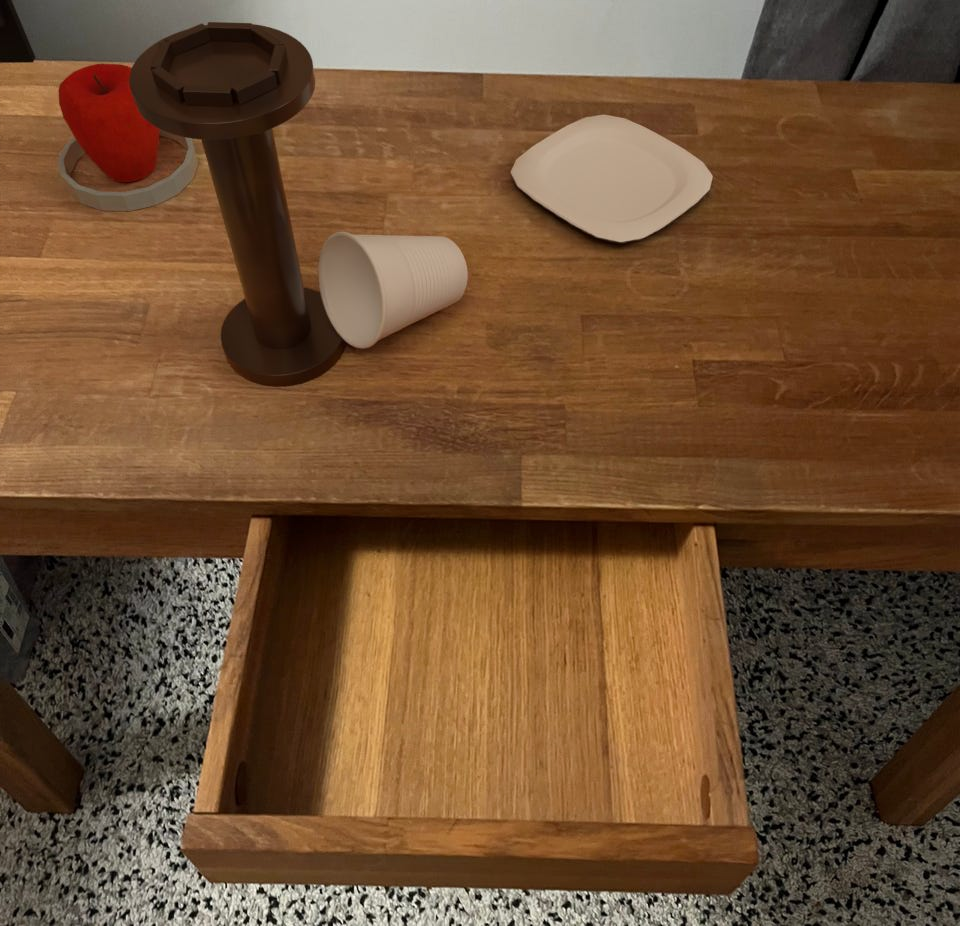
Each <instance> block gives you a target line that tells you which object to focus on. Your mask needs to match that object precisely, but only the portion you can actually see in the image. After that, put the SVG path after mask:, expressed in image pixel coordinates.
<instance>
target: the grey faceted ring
mask: <svg viewBox="0 0 960 926" xmlns="http://www.w3.org/2000/svg"><path fill="white" fill-rule="evenodd" d="M159 137H163V138H167V139H169V140H172V141H176V142H177V143H178V144H180V145H181V146H182V147H183V148H185V150H187V151H186V154H185V157H184V160H183V162H182V163H181V164H180V165H179V166H178V167H177V168H176V169H175V170H174V171H173V172H172V173H171V174H170V175H169V176H167V177H165V178H163V179H160V180H159V181H157V182H155V183H153V184H150V185H148V186H144V187H140V188H135V189H130V190H126V191H110V190H109V191H107V190H103V191H102V190H96V189H93V188H90V187H88V186H84V185H81V184H78V182H76V181H75V180H74V179H73V178H72V177H71V175H72V173H73V171H74V168H75V167H76V164H77V162H78V161H79V160H80V159H81V158H82V157H83V156H85V155H86V153H85V152H84V150H83V149H82V147H81V146H80V144H79V143H78V142H77V140H76V139H75V137H74V136H73V137H72V138H71V139H69V140H68V141H67V142H65V143H64V145H63V148H62V149H61V152H60V154H59V155H58V158H57V164H58V170H59V175H60V177H61V180H62V182H63V184H64V186H65V189H66V191H67V192H68V193H69V194H70V195H71V196H72V197H73V198H74V199H75V200H76V201H78V202H79V203H80V204H81V205H83V206H87V207H90V208H93V209H97V210H99V211H102V212H133V211H137V210H141V209H147V208H150V207H151V208H152V207H154V206H158V205H160V204H161V203H163V202H165V201H168V200H169V199H171V198H174V197H175V196H177V195H179V194H180V193H181V192H183V190H184V189H185V188H186V187H187V186H189V184H190V183H191V182H192V181H193V180H194V179H195V175H196V173H197V169H198V167H199V160H198V156H197V153H196V149H195V146H194V143H193V140H192V138H186V137H181V136H177V135H174V134H171V133H168V132H165V131H163V130H161V129H159Z"/></svg>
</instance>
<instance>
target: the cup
mask: <svg viewBox="0 0 960 926" xmlns="http://www.w3.org/2000/svg"><path fill="white" fill-rule="evenodd" d="M321 247H322V248H321V250H320V253H319V257H318V264H317V265H318V266H317V278H318V288H319V292H320V294H321V298H322V302H323V305H324V308H325V311H326V313H327V316H328V318H329V320H330V322H331V324H332V325H333V327H334V328H335V330H336V331H337V333H338V334H339V335H340V336H341V337H342V339H343V340H345V341H346V344H348V345H350V346H351V347H354V348H356V349H361V350H363V349H364V350H365V349H368V348H369V349H370V348H371V347H372V346H374V345H375V344H376V343H377V342H378V341H380V340H382V339H384V338H386V337H388V336H390V335H393V334H395V333H396V332H399V331H401V330H402V329H404V328H406V327H408V326H410V325H413V324H414V323H417V322H418V321H421V320H423V319H426V318H427V317H429V316H431V315H433V314H435V313H437V312H439V311H442V310H445V309H446V308H448V307H450V306H453V305H454V304H456V303H458V302H459V301H460V300H461V299H462V297H463V296H464V295H465V292H466V289H467V285H468V280H469V277H468V276H469V271H468V265H467V261H466V259H465V256H464V253H463V252H462V250H461V248H460V247H459V246H458V245H457V243H455V242H454V241H453V240H452V239H451V238H448V237H446V236H442V235H395V234H394V235H393V234H391V235H389V234H388V235H387V234H353V233H349V232H347V231H337V232H334V233H332V234H331V235H330V236H329V237H327V239H325V242H324V243H323V245H322V246H321Z"/></svg>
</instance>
